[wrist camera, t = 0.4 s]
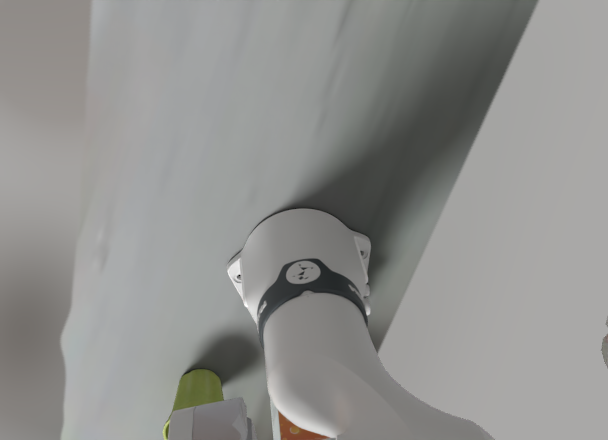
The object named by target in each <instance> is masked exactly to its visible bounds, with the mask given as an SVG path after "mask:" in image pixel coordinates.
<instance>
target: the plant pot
mask: <svg viewBox="0 0 608 440" xmlns="http://www.w3.org/2000/svg"><path fill="white" fill-rule="evenodd" d="M219 401H224V399H223V393H222V386H221V381H220V378H219V377H218V376H217V375H216V374H215V373H214V372H213V371H210V370H206V369H196V370H192V371H191V372H190V373H188V374H185V375H183V376H182V377H181V379H180V382H179V386H178V390H177V394H176V398H175V402H174V406H173V410H172V412H173V411H176V410H181V409H185V408H190V407H194V406H199V405H204V404H209V403H214V402H219ZM171 415H172V413H171ZM171 415H170V417H171ZM170 417H169V419H168V421H167V422H166V423H165V425H164V428H163V437H164V439H165V440H168V432H169V422H170Z"/></svg>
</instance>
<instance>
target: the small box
mask: <svg viewBox="0 0 608 440" xmlns="http://www.w3.org/2000/svg"><path fill="white" fill-rule="evenodd" d="M271 414H272V426H273V438H274V440H324V439H329V438H330V437H327V436H324V435H321V434H317V433H314V432H311V431H308V430H305V429H302V428H300V427H298V426H296V425H295V424H293V423H292V422H291V421H289V420H288V419H287V418H286V417H285V416H284V415H282V414H281V413H280V412H279V411H278V409H277V408H276V407H275V405H274V404H273V402H272V400H271Z"/></svg>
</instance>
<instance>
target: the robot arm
mask: <svg viewBox="0 0 608 440" xmlns="http://www.w3.org/2000/svg"><path fill="white" fill-rule="evenodd" d="M370 250H371V243H370V239H369V238H368V237H367V236H365V235H363V234H361V233H358V232H355V231H351V230H350V229H348V228H347V227H346V226H345V225H344V224H343V223H342V222H341V221H339V220H338V219H337V218H335V217H334V216H332V215H330V214H328V213H325V212H323V211H319V210H314V209H292V210H287V211H284V212H281V213H278V214H275V215H273V216H271V217H269V218H268V219H266V220H265V221H263V222H262V223H261V224H260V225H258V226H257V227H256V228H255V229H254V231H253V232H252V233H251V235H250V236H249V238H248V240H247V242H246V244H245V246H244V248H243V249H242V251H241V252H240V253H239V254H237V255H236V256H235V257H234V258H233V259H232V260H231V261H230V262H229V263H228V265H227V271H228V275H229V277H230V278H231V280H232V282H233V284H234V285H235V287H236V289H237V291H238V292H239V294H240V296H241V298H242V299H243V302H244V305H245V306H246V307H247V308H248V310H249V312H250V313H251V315H252V317H253V319H254V320H255V322H256V324H257V329H258V332H259V338H260V342H261V345H262V347H263V349H264V351H265V363H266V374H267V386H268V392H269V395H270V398H271V400H272V402H273V404H274V405H275V407H276V408H277V409H278V411H279V412H280V413H281V414H282V415H284V416H285V417H286V418H287V419H288V420H289V421H291V422H292V423H293V424H295V425H296V426H298V427H300V428H302V429H305V430H308V431H311V432H314V433H317V434H321V435H324V436H327V437H330V438H329V439H324V440H495V439H494V438H493V437H492V436H491V435H490V434H489V433H488V432H486V431H485V430H484V429H483V428H481V427H480V426H479V425H477V424H476V423H474V422H472V421H470V420H466V419H463V418H459V417H456V416H453V415H450V414H448V413H445V412H443V411H440V410H438V409H436V408H434V407H432V406H430V405H428V404H426V403H425V402H423V401H421V400H419V399H418V398H417V397H415V396H414V395H412V394H411V393H409V392H408V391H407V390H405V389H404V388H403V387H402V386H401V385H400V384H398V383H397V382H396V381H395V380H394V379H393V378H392V377H391V376H390V374H389V373H388V372H387V371H386V369H385V368H384V366H383V365H382V363H381V361H380V359H379V357H378V354H377V352H376V350H375V348H374V345H373V343H372V340H371V338H370V335H369V332H368V330H367V326H368V319H367V316H368V315H369V314H370V303H369V300H368V298H364V296H369V295H370V289H369V285H366V283H368V276H367V271H368V264H369V257H370ZM360 251H363V252H362V253H361V252H360ZM238 275H241V276H238ZM606 325H607V326H608V317H607V322H606ZM602 354H603V358H604V362H605V364H606V365H607V367H608V334H607V335H606V336H605V337H604V339H603V343H602ZM168 440H257V436H256V432H255V428H254V425H253V422H252V420H251V419H250V418H248V417H247V409H246V404H245V402H244V400H243V398H242V397H239V398H234V399H229V400H224V401H219V402H214V403H209V404H204V405H199V406H194V407H190V408H185V409H181V410H176V411H173V412H172V415H171V417H170V422H169V432H168Z"/></svg>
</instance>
